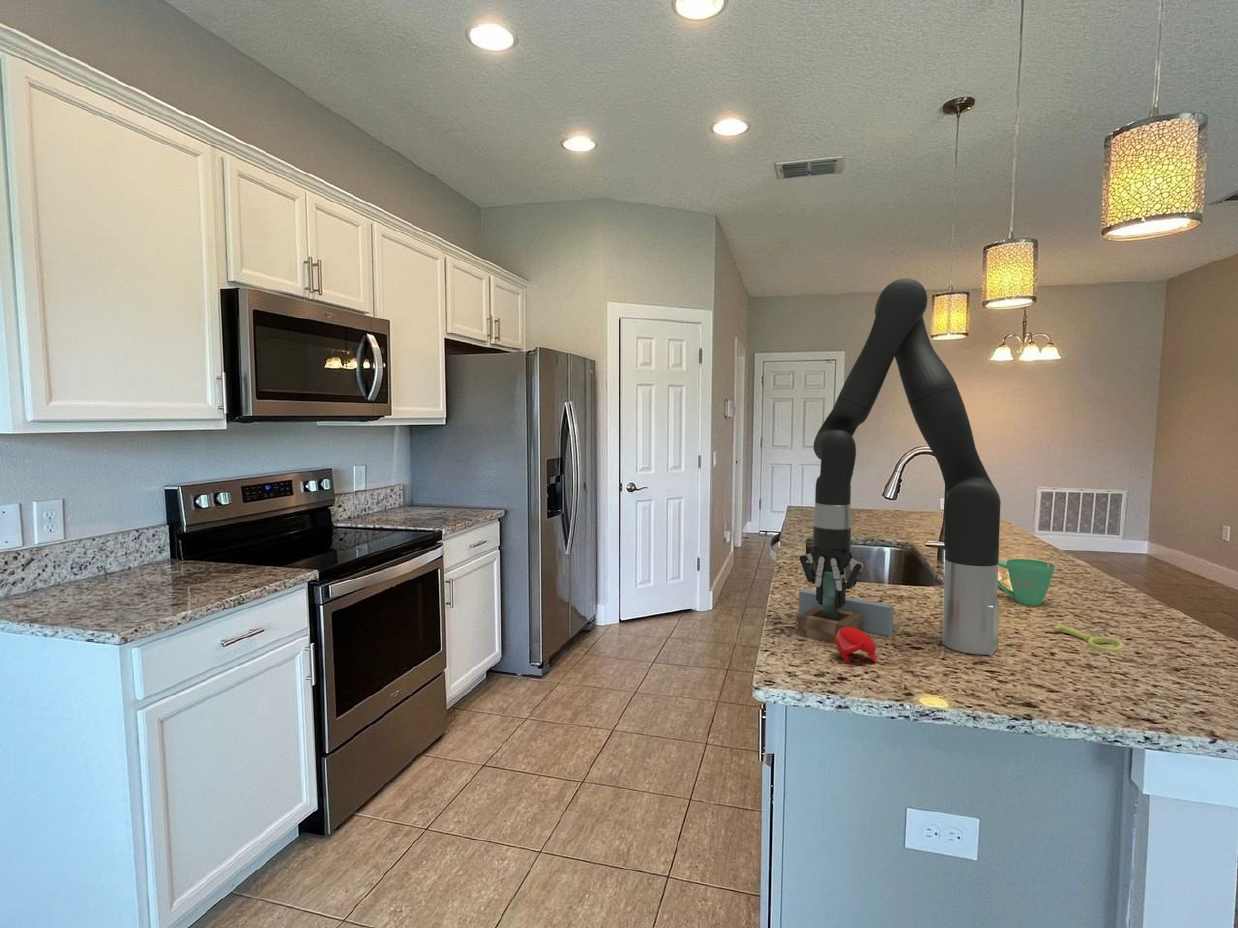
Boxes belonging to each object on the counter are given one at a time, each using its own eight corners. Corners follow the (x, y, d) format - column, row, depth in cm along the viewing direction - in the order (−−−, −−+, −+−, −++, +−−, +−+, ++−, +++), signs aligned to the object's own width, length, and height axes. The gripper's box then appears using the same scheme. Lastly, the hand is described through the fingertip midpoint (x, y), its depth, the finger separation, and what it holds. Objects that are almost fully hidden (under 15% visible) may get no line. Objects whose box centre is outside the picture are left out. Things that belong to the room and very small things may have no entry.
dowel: (840, 616, 131) (841, 570, 131) (834, 620, 129) (835, 573, 128) (825, 613, 134) (826, 568, 133) (819, 617, 131) (820, 570, 131)
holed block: (862, 632, 132) (863, 614, 132) (844, 645, 124) (845, 625, 124) (817, 622, 138) (817, 605, 138) (797, 634, 131) (798, 615, 131)
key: (1055, 631, 133) (1056, 622, 133) (1127, 648, 123) (1128, 637, 123) (1043, 639, 129) (1043, 629, 129) (1116, 656, 119) (1117, 645, 119)
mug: (1059, 603, 152) (1060, 563, 152) (1044, 611, 146) (1046, 569, 146) (993, 591, 164) (995, 554, 163) (977, 597, 158) (979, 559, 157)
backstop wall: (892, 633, 131) (893, 605, 131) (889, 636, 130) (889, 607, 129) (803, 614, 144) (803, 589, 144) (798, 617, 143) (799, 591, 142)
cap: (831, 646, 115) (861, 634, 112) (829, 626, 120) (858, 614, 117) (854, 677, 116) (884, 666, 113) (851, 656, 121) (880, 645, 119)
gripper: (872, 526, 128) (870, 608, 129) (807, 519, 138) (806, 595, 139) (859, 530, 123) (857, 616, 124) (792, 523, 132) (791, 602, 133)
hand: (830, 604), depth 131 cm, fingers closed on dowel, 3 cm apart
